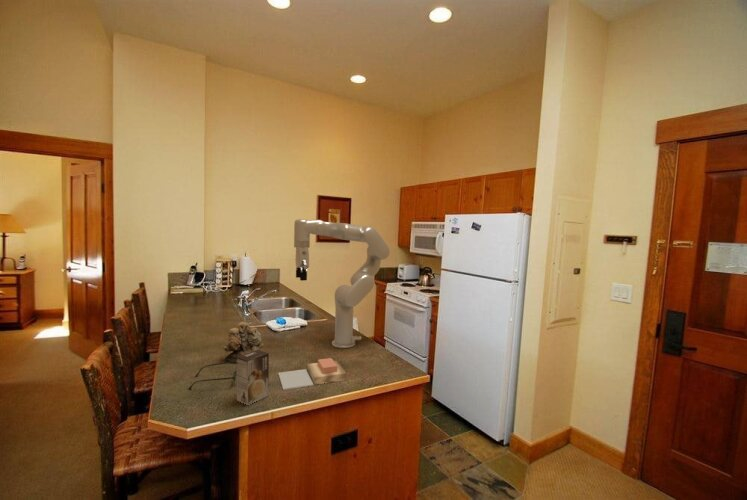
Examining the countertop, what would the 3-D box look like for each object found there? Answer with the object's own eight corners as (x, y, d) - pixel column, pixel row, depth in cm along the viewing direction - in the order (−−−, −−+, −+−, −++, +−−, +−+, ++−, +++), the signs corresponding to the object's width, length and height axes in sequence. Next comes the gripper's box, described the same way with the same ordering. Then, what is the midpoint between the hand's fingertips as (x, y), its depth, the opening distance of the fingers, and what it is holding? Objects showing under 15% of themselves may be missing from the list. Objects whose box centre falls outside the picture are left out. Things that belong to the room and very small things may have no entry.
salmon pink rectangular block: (331, 363, 147) (331, 358, 146) (337, 371, 138) (337, 366, 138) (317, 365, 144) (317, 359, 144) (322, 373, 136) (323, 367, 136)
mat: (305, 370, 146) (306, 369, 145) (313, 385, 132) (313, 384, 132) (278, 374, 141) (278, 372, 141) (283, 390, 127) (283, 388, 127)
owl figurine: (226, 367, 147) (226, 328, 145) (219, 358, 156) (219, 322, 155) (267, 358, 158) (267, 322, 157) (258, 350, 167) (258, 316, 166)
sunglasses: (195, 375, 139) (195, 363, 138) (239, 371, 143) (239, 359, 143) (185, 394, 123) (185, 381, 122) (235, 389, 128) (235, 376, 127)
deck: (336, 366, 150) (336, 360, 150) (345, 380, 137) (346, 373, 137) (307, 370, 145) (307, 364, 145) (314, 385, 132) (314, 377, 132)
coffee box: (257, 390, 126) (257, 349, 125) (269, 395, 123) (269, 352, 122) (235, 401, 118) (236, 356, 117) (247, 406, 115) (248, 360, 114)
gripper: (313, 245, 160) (313, 281, 161) (305, 243, 176) (304, 276, 177) (297, 245, 157) (297, 281, 158) (290, 243, 172) (290, 276, 174)
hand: (301, 278), depth 167 cm, fingers open, 9 cm apart
